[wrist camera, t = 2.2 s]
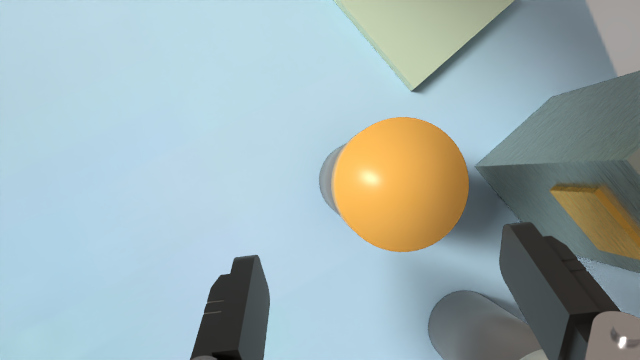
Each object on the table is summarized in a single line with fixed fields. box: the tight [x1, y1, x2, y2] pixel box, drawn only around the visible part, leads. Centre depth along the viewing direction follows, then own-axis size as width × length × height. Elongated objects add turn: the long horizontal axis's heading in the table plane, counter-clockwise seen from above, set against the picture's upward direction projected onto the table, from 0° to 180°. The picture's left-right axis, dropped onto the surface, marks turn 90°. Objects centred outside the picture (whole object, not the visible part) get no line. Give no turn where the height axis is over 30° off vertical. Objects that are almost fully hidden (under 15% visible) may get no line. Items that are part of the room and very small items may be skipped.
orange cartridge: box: [319, 117, 469, 252], centre depth 20 cm, size 5×5×11 cm
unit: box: [475, 71, 640, 273], centre depth 20 cm, size 7×8×13 cm
